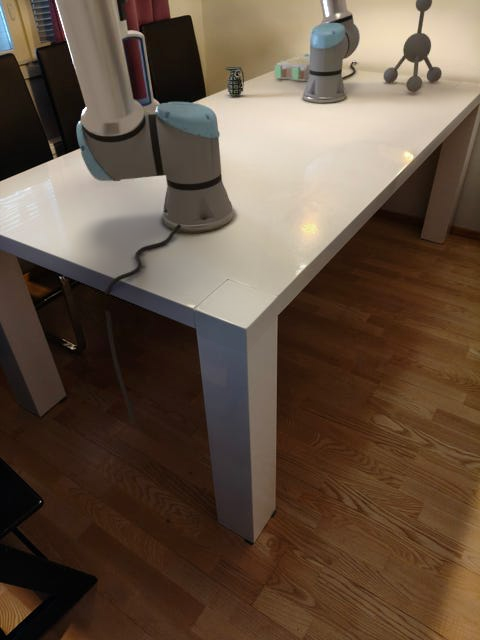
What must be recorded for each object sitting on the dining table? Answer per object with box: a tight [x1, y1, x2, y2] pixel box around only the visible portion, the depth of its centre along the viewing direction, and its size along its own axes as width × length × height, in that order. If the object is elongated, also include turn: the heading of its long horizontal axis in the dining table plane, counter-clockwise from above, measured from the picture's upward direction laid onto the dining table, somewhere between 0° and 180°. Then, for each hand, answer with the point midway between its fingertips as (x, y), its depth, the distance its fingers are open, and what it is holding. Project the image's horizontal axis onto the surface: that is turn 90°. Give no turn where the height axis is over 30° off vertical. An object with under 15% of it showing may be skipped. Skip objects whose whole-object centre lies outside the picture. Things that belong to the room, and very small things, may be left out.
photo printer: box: [114, 0, 129, 38], centre depth 109 cm, size 10×4×12 cm, turn 175°
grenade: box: [225, 66, 245, 98], centre depth 187 cm, size 7×6×10 cm
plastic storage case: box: [274, 53, 310, 82], centre depth 211 cm, size 26×6×20 cm
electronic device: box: [122, 29, 161, 115], centre depth 138 cm, size 12×8×30 cm, turn 105°
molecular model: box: [383, 0, 443, 93], centre depth 180 cm, size 24×22×30 cm
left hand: (112, 20), depth 111 cm, fingers closed on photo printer, 4 cm apart
